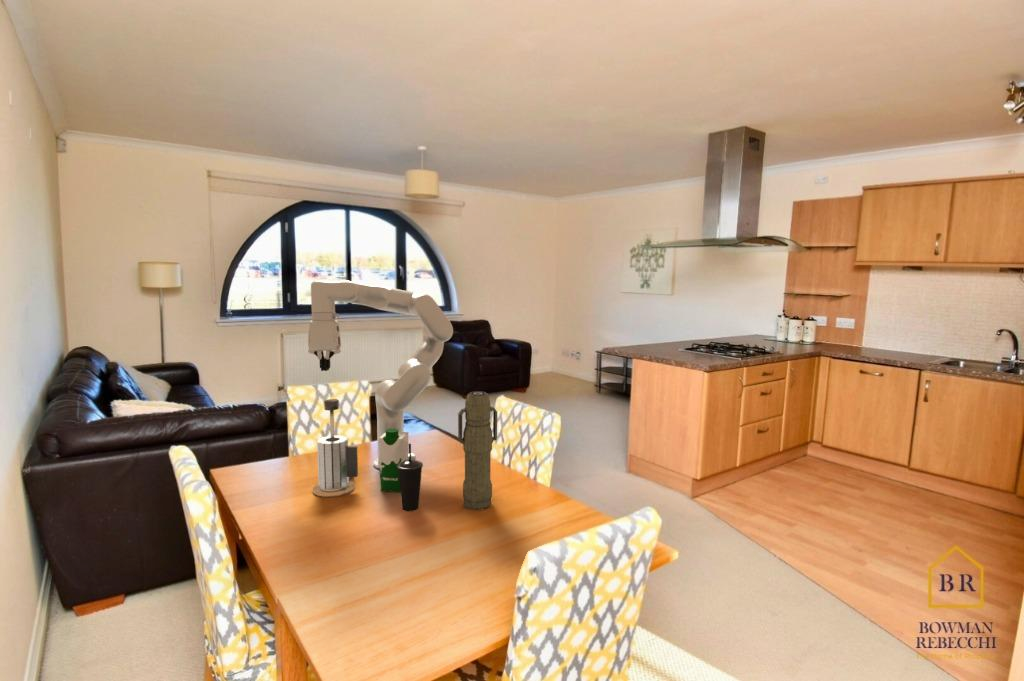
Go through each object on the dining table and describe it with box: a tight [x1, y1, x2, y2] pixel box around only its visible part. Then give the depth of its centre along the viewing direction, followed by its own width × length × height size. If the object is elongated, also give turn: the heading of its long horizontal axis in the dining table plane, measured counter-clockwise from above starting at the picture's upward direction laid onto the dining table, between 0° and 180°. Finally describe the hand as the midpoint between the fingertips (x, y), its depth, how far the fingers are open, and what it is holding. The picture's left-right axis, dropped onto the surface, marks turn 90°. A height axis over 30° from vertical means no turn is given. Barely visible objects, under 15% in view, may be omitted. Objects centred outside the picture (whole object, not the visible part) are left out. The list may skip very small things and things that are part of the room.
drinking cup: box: [397, 443, 424, 512], centre depth 159 cm, size 8×8×20 cm
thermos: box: [457, 390, 498, 511], centre depth 162 cm, size 9×12×35 cm
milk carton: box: [379, 429, 410, 493], centre depth 175 cm, size 9×9×20 cm
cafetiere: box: [312, 434, 359, 498], centre depth 173 cm, size 14×13×17 cm
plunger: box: [323, 398, 340, 442], centre depth 172 cm, size 4×4×19 cm
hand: (325, 370), depth 183 cm, fingers closed
